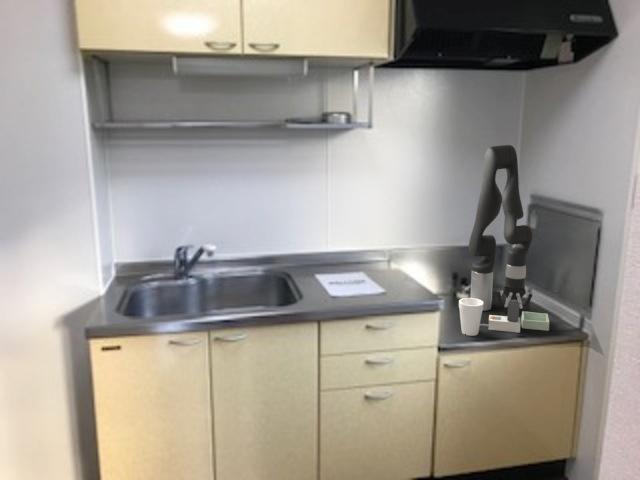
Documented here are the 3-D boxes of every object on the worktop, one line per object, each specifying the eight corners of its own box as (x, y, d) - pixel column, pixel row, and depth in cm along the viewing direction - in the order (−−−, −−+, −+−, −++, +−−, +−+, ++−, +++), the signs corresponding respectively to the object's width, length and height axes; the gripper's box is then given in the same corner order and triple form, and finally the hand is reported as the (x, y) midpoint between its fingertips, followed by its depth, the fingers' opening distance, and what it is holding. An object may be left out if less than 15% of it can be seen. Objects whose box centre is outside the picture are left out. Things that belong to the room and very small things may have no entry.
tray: (521, 319, 226) (521, 311, 225) (546, 321, 223) (547, 313, 222) (522, 328, 217) (522, 320, 216) (548, 330, 214) (549, 322, 213)
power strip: (473, 322, 224) (474, 312, 223) (519, 326, 218) (520, 316, 217) (473, 327, 218) (473, 317, 217) (519, 332, 213) (520, 322, 212)
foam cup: (467, 338, 208) (468, 307, 205) (453, 330, 217) (454, 300, 214) (487, 334, 212) (488, 303, 209) (472, 326, 220) (473, 296, 217)
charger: (506, 319, 219) (508, 297, 217) (517, 320, 218) (519, 298, 216) (506, 324, 214) (508, 302, 212) (518, 325, 213) (519, 303, 210)
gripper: (534, 273, 212) (531, 314, 216) (496, 271, 217) (494, 310, 221) (535, 279, 205) (532, 321, 210) (496, 276, 210) (494, 317, 214)
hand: (512, 315), depth 215 cm, fingers closed on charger, 4 cm apart
